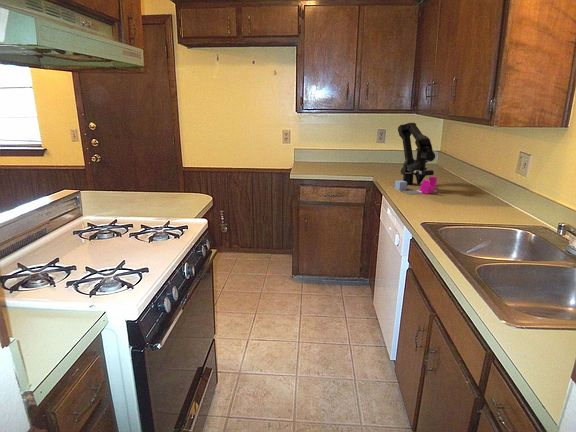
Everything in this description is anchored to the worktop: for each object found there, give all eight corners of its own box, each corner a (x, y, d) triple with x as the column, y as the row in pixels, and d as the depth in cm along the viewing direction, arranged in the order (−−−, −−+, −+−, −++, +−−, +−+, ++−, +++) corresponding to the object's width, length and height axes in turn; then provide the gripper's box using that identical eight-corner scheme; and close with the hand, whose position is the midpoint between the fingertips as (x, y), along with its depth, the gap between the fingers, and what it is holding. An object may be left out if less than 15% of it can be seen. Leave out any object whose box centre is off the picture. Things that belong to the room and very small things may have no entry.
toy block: (425, 188, 240) (426, 175, 238) (435, 189, 236) (437, 177, 234) (417, 192, 228) (418, 179, 226) (427, 193, 225) (429, 181, 223)
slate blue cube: (394, 188, 238) (395, 180, 237) (401, 188, 240) (402, 180, 239) (399, 190, 234) (400, 182, 232) (406, 190, 235) (407, 181, 234)
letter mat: (400, 191, 232) (400, 190, 232) (432, 188, 239) (432, 188, 239) (409, 194, 224) (409, 194, 224) (442, 192, 231) (442, 191, 231)
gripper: (400, 157, 241) (398, 182, 245) (419, 161, 224) (416, 188, 228) (416, 156, 244) (413, 181, 248) (435, 160, 227) (432, 187, 231)
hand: (418, 184), depth 239 cm, fingers closed
